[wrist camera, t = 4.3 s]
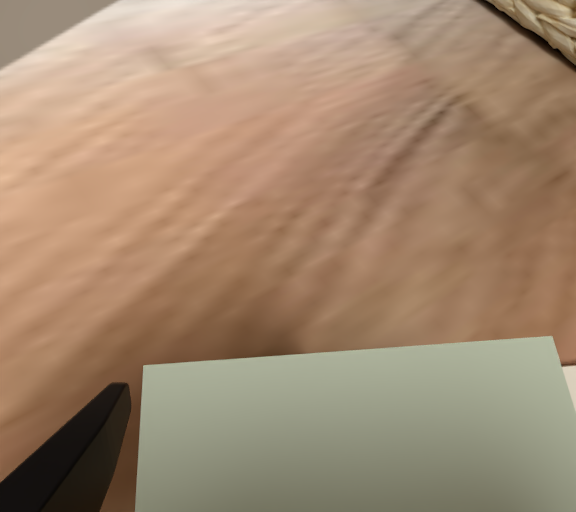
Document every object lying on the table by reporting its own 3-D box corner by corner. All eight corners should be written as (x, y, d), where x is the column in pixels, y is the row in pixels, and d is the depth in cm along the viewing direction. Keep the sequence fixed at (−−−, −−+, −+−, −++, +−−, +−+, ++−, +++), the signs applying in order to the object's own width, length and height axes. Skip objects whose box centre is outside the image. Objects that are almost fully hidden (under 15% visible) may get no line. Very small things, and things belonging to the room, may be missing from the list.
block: (220, 474, 15) (92, 1242, 2) (219, 368, 16) (143, 364, 3) (318, 462, 16) (743, 953, 2) (309, 361, 17) (552, 336, 4)
